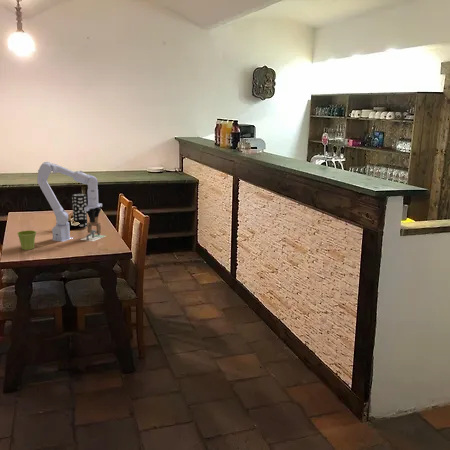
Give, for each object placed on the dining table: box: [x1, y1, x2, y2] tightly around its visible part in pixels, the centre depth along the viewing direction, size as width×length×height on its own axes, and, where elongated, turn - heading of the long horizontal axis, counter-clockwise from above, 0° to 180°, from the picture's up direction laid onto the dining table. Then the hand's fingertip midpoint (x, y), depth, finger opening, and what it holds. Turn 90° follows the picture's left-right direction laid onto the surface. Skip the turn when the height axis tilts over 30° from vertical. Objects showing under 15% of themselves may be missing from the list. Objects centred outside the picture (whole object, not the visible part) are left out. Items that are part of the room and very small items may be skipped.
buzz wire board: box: [80, 229, 104, 242], centre depth 293 cm, size 13×9×5 cm
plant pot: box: [16, 230, 37, 251], centre depth 270 cm, size 9×9×9 cm
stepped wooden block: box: [87, 216, 102, 235], centre depth 293 cm, size 2×7×9 cm, turn 70°
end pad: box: [90, 233, 106, 239], centre depth 297 cm, size 4×8×1 cm, turn 70°
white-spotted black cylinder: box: [71, 193, 88, 229], centre depth 319 cm, size 8×8×20 cm
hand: (93, 221), depth 293 cm, fingers closed on stepped wooden block, 2 cm apart
